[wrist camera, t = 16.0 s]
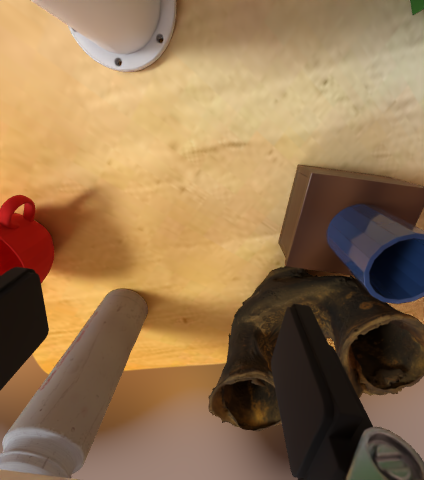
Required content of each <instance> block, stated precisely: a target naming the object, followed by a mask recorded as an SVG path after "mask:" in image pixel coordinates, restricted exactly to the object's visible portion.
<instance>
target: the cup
mask: <svg viewBox="0 0 424 480" xmlns="http://www.w3.org/2000/svg"><path fill="white" fill-rule="evenodd" d="M326 236H327V242H328V245H329V247H330V248H331V250H332V251H333V252H334V254H335V255H336V256H337V257H338V258H339V259H340V261H341V262H342V263H343V264H344V265H345V266H346V267H347V268H348V270H349V271H350V272H351V273H352V274H353V275H354V276H355V278H356V279H357V280H358V281H359V282H360V283H361V284H362V286H363V287H364V288H365V289H366V290H367V291H368V292H369V293H370V295H371V296H373V297H375V298H377V299H378V300H380V301H382V302H387V303H394V304H400V303H406V302H412V301H415V300H417V299H419V298H421V297H424V231H423V230H421V229H419V228H418V227H416V226H414V225H412V224H410V223H408V222H406V221H404V220H402V219H400V218H398V217H396V216H394V215H392V214H390V213H388V212H386V211H384V210H382V209H380V208H378V207H376V206H373V205H369V204H356V205H352V206H349V207H347V208H345V209H343V210H342V211H340V212H339V213H338V214H336V216H335V217H334V218H333V219H332V220H331V222H330V224H329V226H328V229H327V235H326Z"/></svg>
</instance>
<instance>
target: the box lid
mask: <svg viewBox="0 0 424 480" xmlns="http://www.w3.org/2000/svg"><path fill="white" fill-rule="evenodd" d="M356 204H369V205H373V206H376V207H378V208H380V209H382V210H384V211H386V212H388V213H390V214H392V215H394V216H396V217H398V218H400V219H402V220H404V221H406V222H408V223H410V224H412V225H414V226H415V225H416V223H417V221H418V219H419V216H420V214H421V212H422V210H423V208H424V187H419V186H412V185H404V184H397V183H389V182H382V181H375V180H367V179H360V178H352V177H345V176H338V175H330V174H323V173H315V172H309V176H308V180H307V183H306V187H305V191H304V195H303V198H302V202H301V206H300V209H299V213H298V217H297V220H296V224H295V228H294V231H293V235H292V239H291V242H290V246H289V250H288V253H287V257H286V261H285V265H286V266H287V267H294V268H302V269H309V270H317V271H324V272H332V273H339V274H346V275H353V274H352V273H351V272H350V271H349V270H348V268H347V267H346V266H345V265H344V264H343V263H342V262H341V261H340V259H339V258H338V257H337V256H336V255H335V254H334V252H333V251H332V250H331V248H330V247H329V245H328V242H327V236H326V235H327V229H328V226H329V224H330V222H331V220H332V219H333V218H334V217H335V216H336V214H338V213H339V212H340V211H342V210H343V209H345V208H347V207H349V206H352V205H356Z"/></svg>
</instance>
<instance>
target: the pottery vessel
mask: <svg viewBox="0 0 424 480" xmlns="http://www.w3.org/2000/svg"><path fill="white" fill-rule="evenodd" d="M293 304H301V305H308V306H310V307H311V309H312V311H313V313H314V315H315V317H316V319H317V321H318V324H319V326H320V328H321V330H322V332H323V334H324V336H325V338H326V339H327V338H331V339H332V340H333V341H334V345H335V349H336V353H337V355H338V357H339V359H340V361H341V363H342V365H343V367H344V369H345V371H346V373H347V375H348V377H349V379H350V381H351V383H352V385H353V387H354V389H355V391H356V393H357V395H358V397H359V398H360V396H361V395H362V393H367V394H369V395H373V394H376V395H384V394H387V393H392V394H395V393H396V394H398V391H401V390H402V388H404V387H409V386H412V385H414V384H416V383H417V382H418V381H419V380H420V379H421V378H422V377H423V376H424V325H423V324H422V323H421V322H420V321H419V320H418V319H417V318H415V317H414V316H411V315H409V314H404V313H402V312H400V311H398V310H395V309H394V308H393V307H391V306H390V305H389V304H387V303H386V302H382V301H380V300H378V299H377V298H375V297H373V296H371V295H370V293H369V292H368V291H367V290H366V289H365V288H364V287H363V286H362V284H361V283H360V282H359V281H358V280H357V279H355V278H353V277H352V276H351V275H350V277H346V276H321V277H318V276H317V275H316V276H312V275H310V274H308V273H307V271H306V270H305V269H302V268H294V267H287V266H285V267H284V268H278V269H275V270H272V271H271V272H270V273H269V275H268V276H267V277H266V278H265V280H264V281H263V282H262V283H261V285H259V286H258V287H257V288H256V290H255V292H254V293H253V295H252V296H251V297H250V298H248V299H247V300H246V301H244V302H243V306H242V307H241V308H240V309H239V310H238V311H237V312H236V314H235V316H234V320H233V323H232V329H231V335H230V334H229V343H228V344H229V349H228V356H227V363H226V365H225V367H224V369H223V371H222V374H221V377H220V379H219V381H218V384H217V386H216V387H215V388H213V391H212V393H211V395H210V396H209V411H212V412H211V413H212V414H213V415H215V416H218V417H220V418H221V420H222V423H223V422H229V423H231V424H232V425H234V426H237V427H240V428H242V429H245V430H253V431H260V430H263V429H266V428H269V427H271V426H274V425H276V426H277V425H278V424H281V423H282V422H281V417H280V411H279V406H278V401H277V396H276V391H275V385H274V380H273V375H272V370H271V359H272V355H273V352H274V349H275V345H276V342H277V339H278V335H279V332H280V328H281V325H282V322H283V318H284V315H285V312H286V309H287V307H291V306H292V305H293Z"/></svg>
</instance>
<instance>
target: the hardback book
mask: <svg viewBox="0 0 424 480" xmlns="http://www.w3.org/2000/svg"><path fill="white" fill-rule="evenodd" d="M410 3H411V9H412V14H413V15H414V14H416V13H418V12H419V11H421V10H423V9H424V0H410Z"/></svg>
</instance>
